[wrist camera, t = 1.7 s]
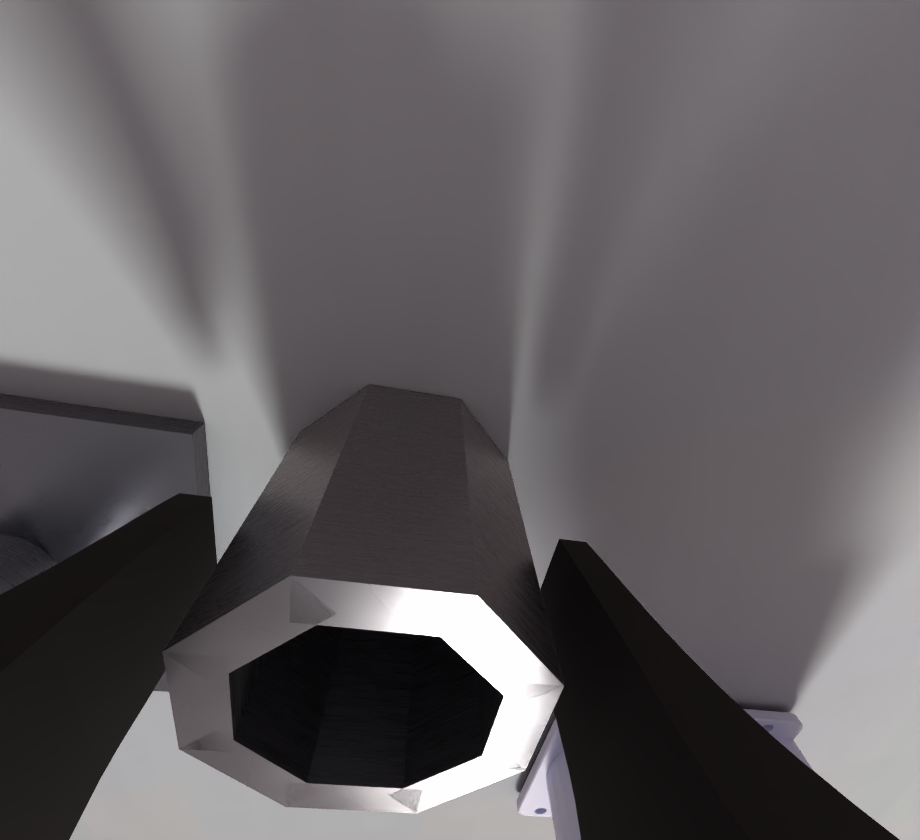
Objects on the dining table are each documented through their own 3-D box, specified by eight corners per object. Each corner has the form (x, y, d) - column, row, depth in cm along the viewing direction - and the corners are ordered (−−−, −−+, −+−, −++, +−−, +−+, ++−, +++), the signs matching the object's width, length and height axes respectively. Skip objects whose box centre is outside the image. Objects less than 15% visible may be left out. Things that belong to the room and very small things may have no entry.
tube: (522, 408, 11) (599, 607, 6) (479, 568, 13) (503, 817, 8) (301, 374, 10) (146, 559, 5) (296, 547, 13) (188, 802, 7)
